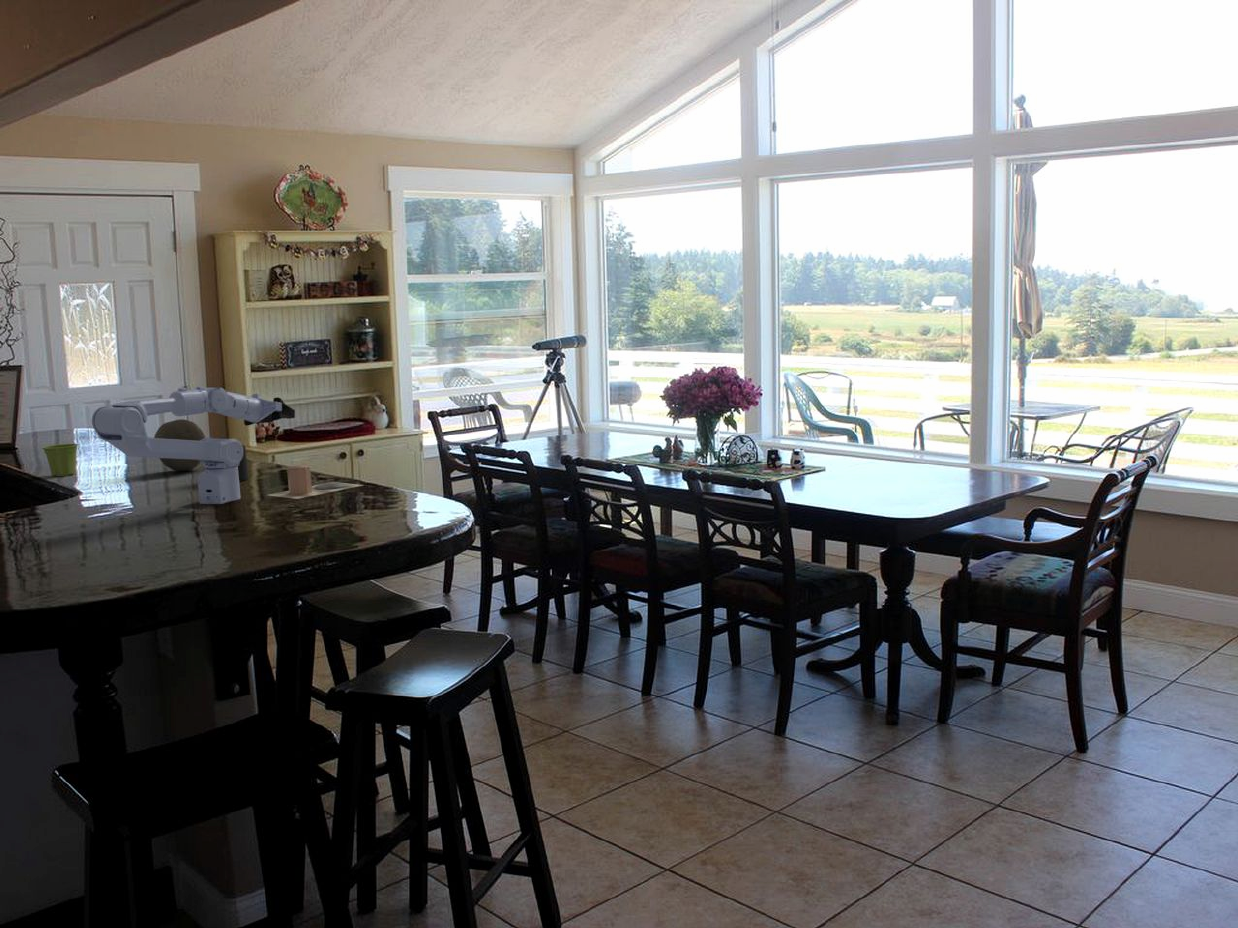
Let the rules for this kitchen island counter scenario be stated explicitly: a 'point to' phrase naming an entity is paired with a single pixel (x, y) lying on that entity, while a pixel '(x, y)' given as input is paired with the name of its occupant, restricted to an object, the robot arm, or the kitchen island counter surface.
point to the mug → (243, 467)
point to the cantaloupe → (181, 432)
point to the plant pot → (61, 459)
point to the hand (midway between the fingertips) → (282, 416)
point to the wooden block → (299, 480)
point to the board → (318, 490)
